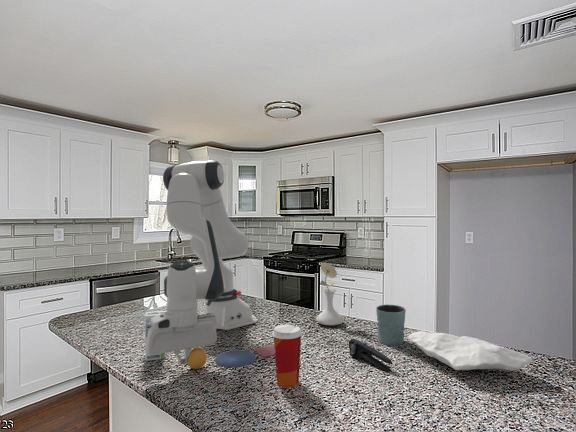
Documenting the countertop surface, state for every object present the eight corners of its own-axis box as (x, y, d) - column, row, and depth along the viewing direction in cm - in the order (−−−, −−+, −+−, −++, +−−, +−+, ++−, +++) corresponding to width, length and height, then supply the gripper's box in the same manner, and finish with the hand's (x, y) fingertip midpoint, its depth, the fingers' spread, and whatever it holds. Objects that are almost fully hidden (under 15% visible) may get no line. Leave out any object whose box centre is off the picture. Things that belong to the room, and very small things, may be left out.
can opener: (343, 354, 122) (343, 337, 122) (359, 350, 126) (359, 334, 125) (381, 376, 107) (381, 356, 106) (399, 370, 110) (398, 351, 110)
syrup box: (145, 361, 118) (144, 316, 118) (146, 354, 124) (146, 311, 124) (164, 359, 120) (163, 314, 119) (165, 352, 125) (164, 309, 125)
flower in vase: (349, 325, 151) (348, 264, 151) (324, 329, 147) (323, 266, 146) (333, 317, 163) (333, 260, 163) (310, 320, 159) (309, 261, 159)
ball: (190, 368, 115) (205, 354, 118) (197, 376, 110) (213, 362, 113) (179, 354, 113) (196, 340, 115) (186, 362, 108) (203, 348, 111)
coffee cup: (285, 373, 109) (285, 322, 108) (308, 381, 103) (308, 327, 103) (266, 384, 102) (265, 329, 102) (289, 393, 97) (288, 335, 96)
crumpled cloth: (524, 396, 91) (525, 357, 92) (389, 359, 114) (391, 328, 114) (536, 376, 109) (537, 345, 110) (417, 348, 132) (419, 322, 132)
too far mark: (274, 344, 131) (274, 344, 131) (285, 352, 124) (285, 351, 124) (253, 349, 127) (253, 348, 127) (263, 357, 120) (263, 356, 120)
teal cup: (400, 336, 138) (400, 304, 138) (410, 346, 128) (410, 311, 128) (373, 337, 138) (372, 304, 138) (380, 347, 128) (380, 312, 127)
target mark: (246, 347, 129) (246, 347, 129) (262, 361, 117) (262, 360, 117) (209, 355, 122) (209, 355, 122) (223, 370, 111) (223, 369, 111)
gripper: (213, 310, 119) (213, 353, 119) (144, 319, 109) (145, 366, 109) (219, 314, 113) (220, 360, 113) (148, 324, 103) (148, 374, 103)
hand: (182, 363), depth 111 cm, fingers closed
